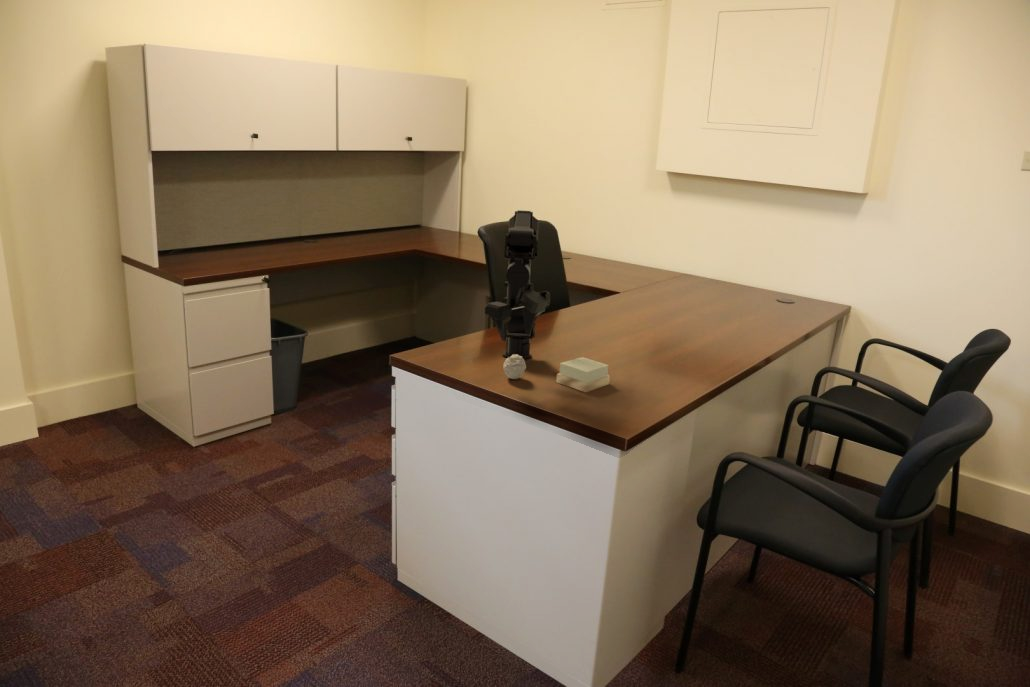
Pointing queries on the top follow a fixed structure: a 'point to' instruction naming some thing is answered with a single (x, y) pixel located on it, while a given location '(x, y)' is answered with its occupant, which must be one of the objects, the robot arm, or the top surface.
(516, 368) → the frog figurine
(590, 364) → the upper block
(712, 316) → the top surface
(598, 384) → the lower block
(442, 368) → the top surface
